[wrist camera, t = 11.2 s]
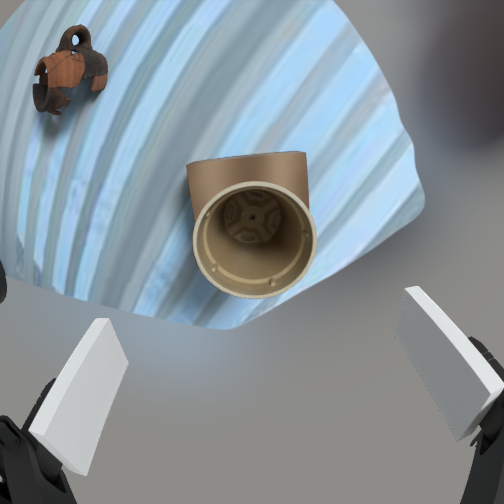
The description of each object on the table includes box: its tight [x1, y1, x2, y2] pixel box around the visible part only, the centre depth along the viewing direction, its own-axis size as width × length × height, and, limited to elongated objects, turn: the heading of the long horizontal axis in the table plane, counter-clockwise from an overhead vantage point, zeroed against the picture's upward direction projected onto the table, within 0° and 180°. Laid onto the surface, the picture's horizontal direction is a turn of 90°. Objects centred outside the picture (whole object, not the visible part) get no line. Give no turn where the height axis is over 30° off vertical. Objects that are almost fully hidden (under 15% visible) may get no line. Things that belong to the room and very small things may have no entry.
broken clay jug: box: [33, 24, 108, 115], centre depth 24 cm, size 12×10×8 cm
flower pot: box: [192, 181, 317, 299], centre depth 25 cm, size 9×9×9 cm
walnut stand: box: [186, 151, 309, 240], centre depth 32 cm, size 12×12×5 cm
